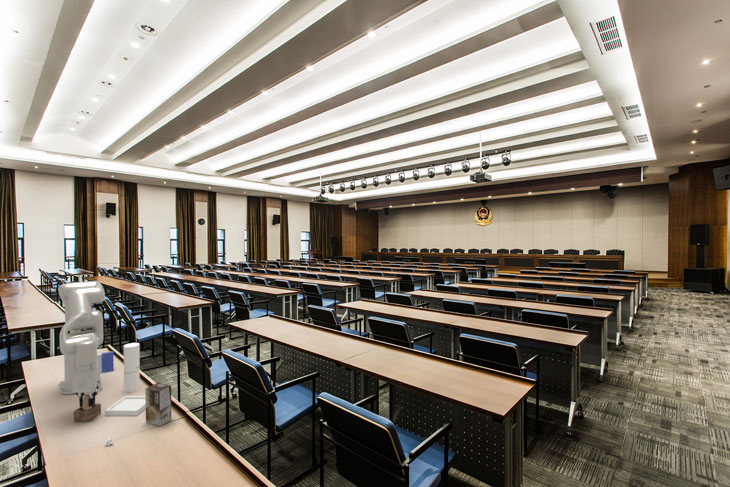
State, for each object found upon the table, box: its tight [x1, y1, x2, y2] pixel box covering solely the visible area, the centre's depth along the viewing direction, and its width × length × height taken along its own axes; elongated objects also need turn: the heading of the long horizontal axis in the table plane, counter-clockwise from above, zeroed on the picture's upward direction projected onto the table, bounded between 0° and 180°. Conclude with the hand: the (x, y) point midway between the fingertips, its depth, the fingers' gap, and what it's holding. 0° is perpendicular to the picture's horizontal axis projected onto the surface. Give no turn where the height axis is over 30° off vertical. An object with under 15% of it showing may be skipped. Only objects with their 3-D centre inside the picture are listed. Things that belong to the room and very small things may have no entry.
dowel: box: [83, 393, 92, 410], centre depth 157 cm, size 3×3×11 cm
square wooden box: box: [73, 403, 102, 423], centre depth 157 cm, size 7×7×5 cm
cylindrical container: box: [123, 342, 141, 394], centre depth 185 cm, size 7×7×25 cm
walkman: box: [97, 350, 115, 374], centre depth 207 cm, size 8×3×12 cm, turn 127°
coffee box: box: [144, 382, 172, 427], centre depth 156 cm, size 9×6×16 cm
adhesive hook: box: [104, 437, 114, 447], centre depth 138 cm, size 3×3×3 cm
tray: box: [104, 395, 146, 417], centre depth 167 cm, size 15×14×2 cm
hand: (87, 404), depth 157 cm, fingers closed on dowel, 3 cm apart
